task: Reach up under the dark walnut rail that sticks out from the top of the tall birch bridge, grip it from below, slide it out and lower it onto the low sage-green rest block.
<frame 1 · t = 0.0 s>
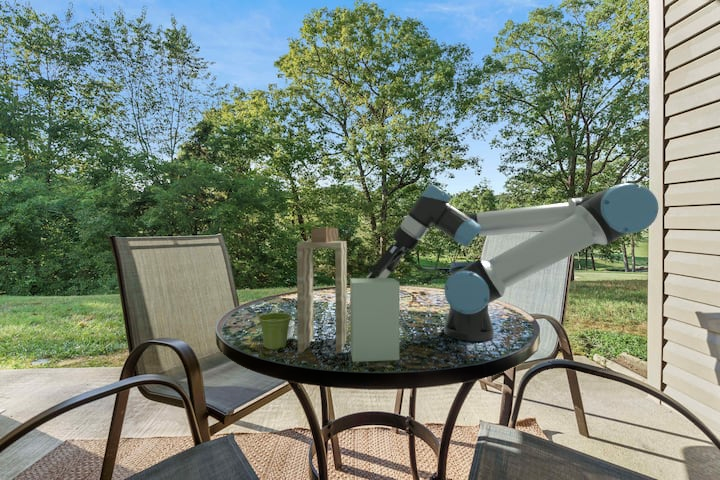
hand: (369, 288, 110), 15 cm above the table, tool tilted 35°, fingers open, 13 cm apart
ramekin: (280, 337, 112), on the table
rest block: (374, 355, 94), on the table
rail: (326, 241, 108), point 30 cm above the table, touching bridge
bridge: (323, 344, 103), on the table
plant pot: (275, 347, 102), on the table
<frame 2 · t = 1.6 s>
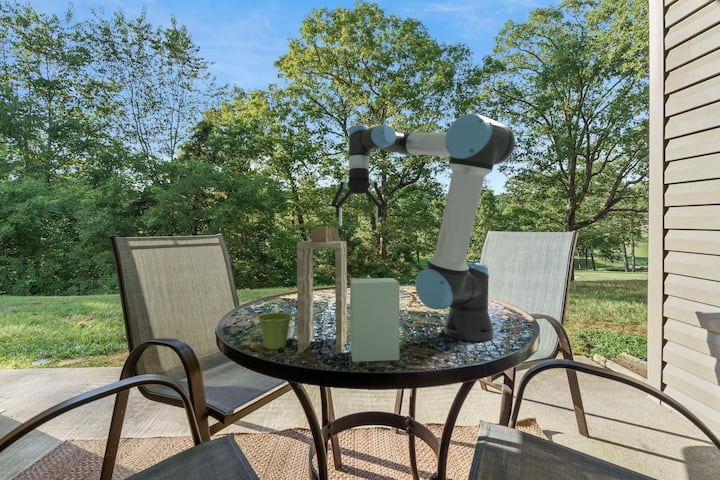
hand: (358, 226, 132), 35 cm above the table, tool pointing down, fingers open, 13 cm apart
nothing on the table moved.
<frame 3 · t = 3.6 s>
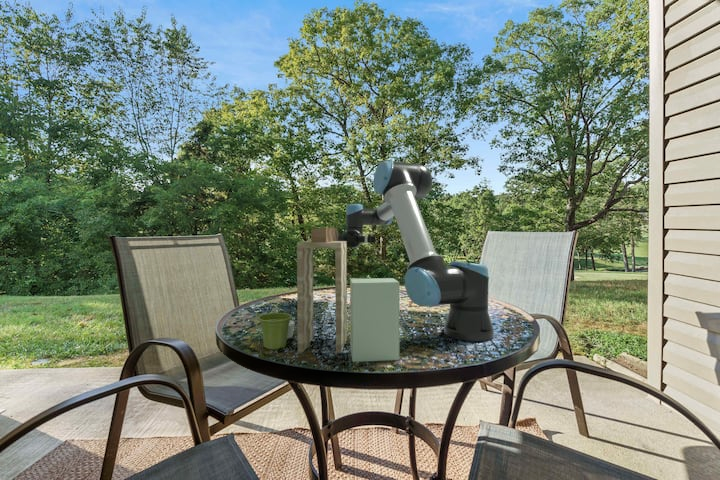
hand: (347, 239, 131), 30 cm above the table, tool horizontal, fingers open, 13 cm apart
nothing on the table moved.
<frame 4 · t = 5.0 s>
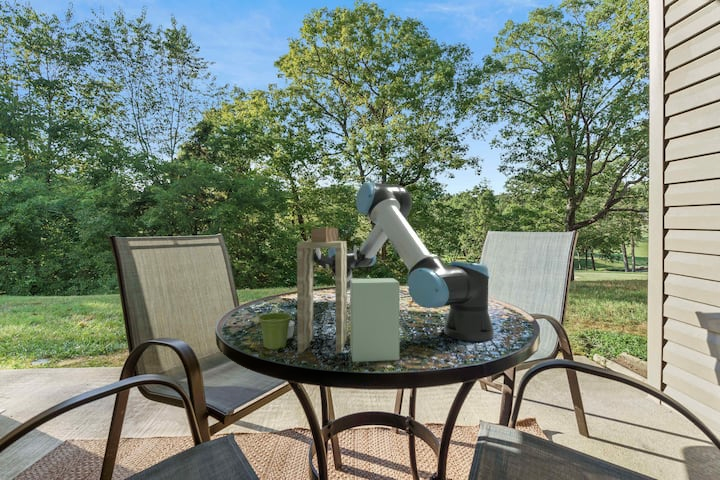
hand: (335, 248, 126), 27 cm above the table, tool pointing upward, fingers open, 13 cm apart
nothing on the table moved.
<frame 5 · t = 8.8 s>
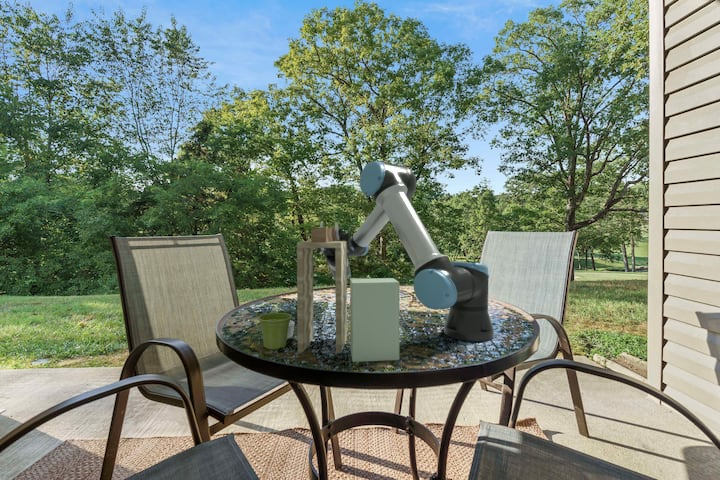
hand: (328, 226, 112), 35 cm above the table, tool pointing upward, fingers closed on rail, 4 cm apart
rail: (326, 241, 108), point 30 cm above the table, touching bridge, gripper
everything else where it was.
when the fingers open (27 cm above the table, at t = 15.1 s): rail drops 2 cm, resting on rest block.
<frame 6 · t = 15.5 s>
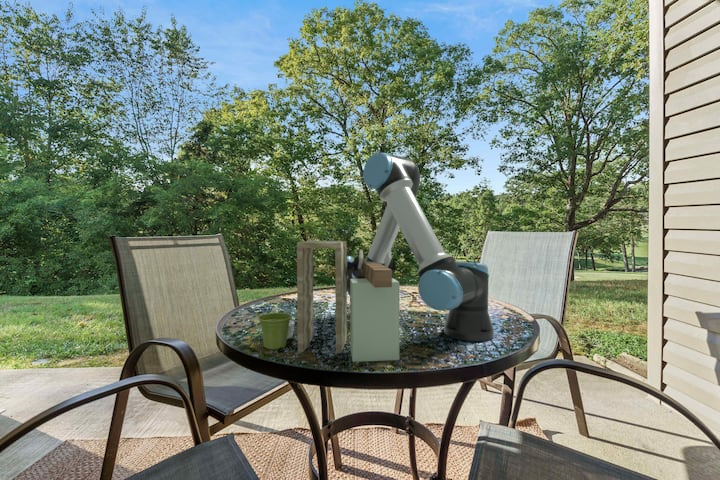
hand: (375, 254, 98), 27 cm above the table, tool pointing upward, fingers open, 7 cm apart
rail: (375, 280, 94), point 20 cm above the table, touching rest block
everything else where it was.
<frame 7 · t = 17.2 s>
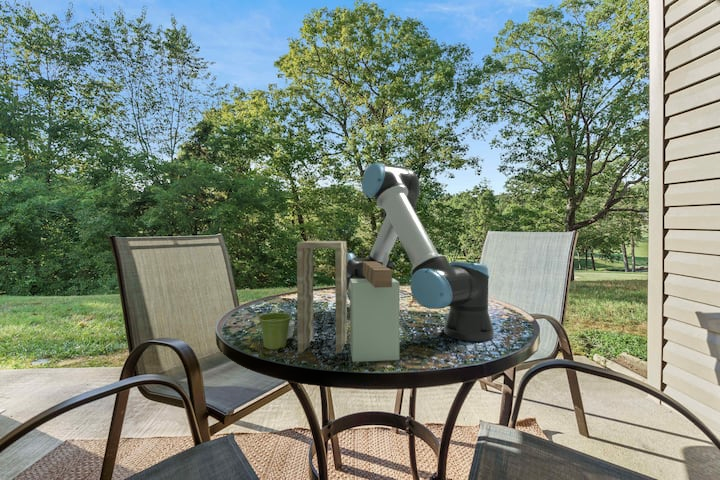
hand: (367, 255, 111), 25 cm above the table, tool pointing upward, fingers open, 12 cm apart
nothing on the table moved.
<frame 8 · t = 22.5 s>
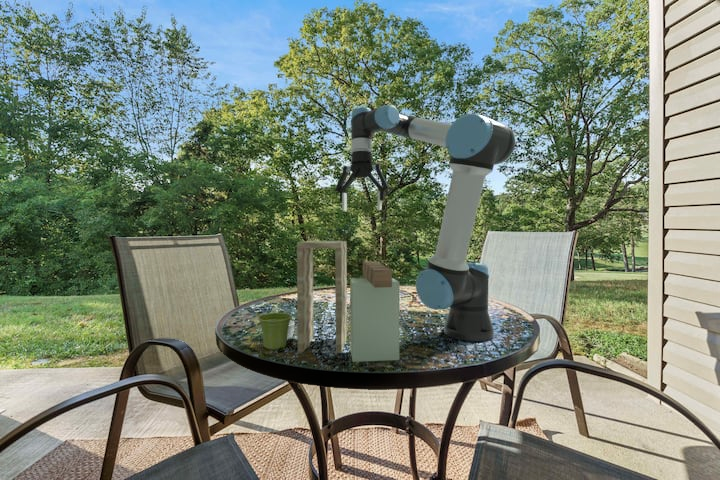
hand: (361, 210, 130), 41 cm above the table, tool pointing down, fingers open, 13 cm apart
nothing on the table moved.
at the end: rail inside the target area on the rest block (0.5 cm from its centre), point 20.0 cm above the rest block's base; the gripper is holding nothing; rail touching rest block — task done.
